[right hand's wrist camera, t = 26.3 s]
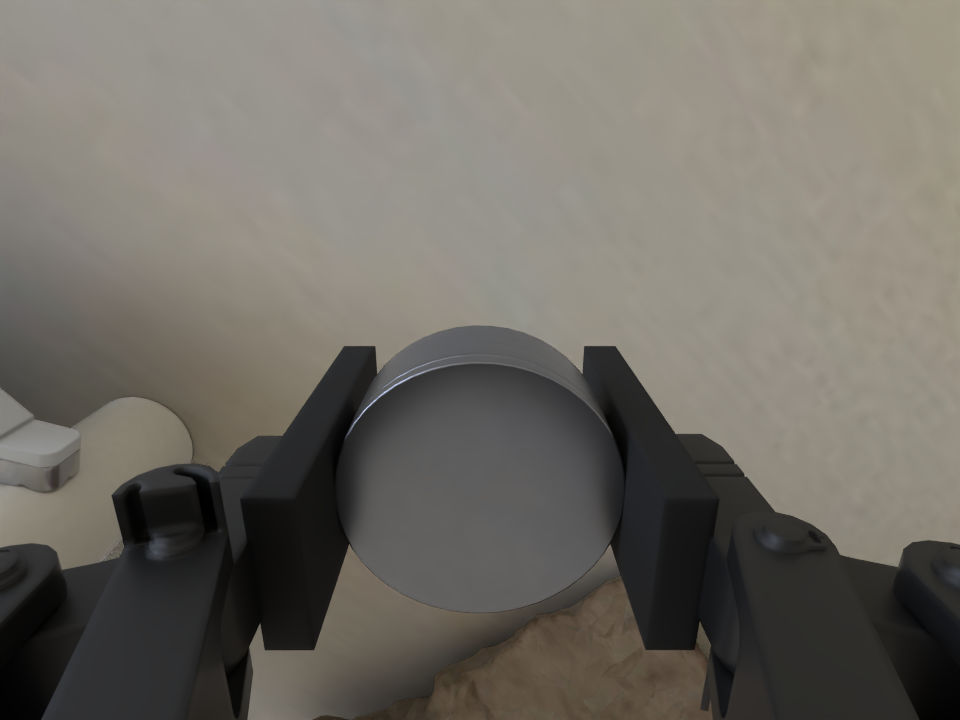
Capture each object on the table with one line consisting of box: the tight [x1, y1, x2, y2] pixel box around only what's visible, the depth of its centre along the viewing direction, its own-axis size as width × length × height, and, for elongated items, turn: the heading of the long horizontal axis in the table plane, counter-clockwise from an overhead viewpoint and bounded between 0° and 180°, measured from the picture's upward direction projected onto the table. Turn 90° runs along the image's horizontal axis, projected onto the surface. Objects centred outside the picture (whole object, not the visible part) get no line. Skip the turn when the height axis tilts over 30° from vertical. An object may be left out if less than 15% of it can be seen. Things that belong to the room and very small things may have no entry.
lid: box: [334, 326, 626, 613], centre depth 11 cm, size 5×5×2 cm
